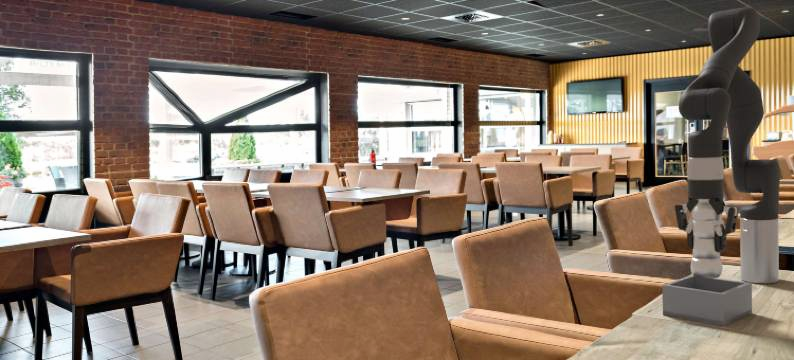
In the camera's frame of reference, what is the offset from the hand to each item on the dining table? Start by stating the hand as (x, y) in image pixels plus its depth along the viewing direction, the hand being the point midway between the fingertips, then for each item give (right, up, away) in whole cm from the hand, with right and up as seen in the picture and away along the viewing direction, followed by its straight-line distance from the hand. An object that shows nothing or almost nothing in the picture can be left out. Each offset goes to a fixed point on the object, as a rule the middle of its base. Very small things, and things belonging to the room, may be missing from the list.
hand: (706, 250), depth 154 cm
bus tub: (+1, -15, +1) cm, 15 cm away
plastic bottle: (0, -7, 0) cm, 7 cm away
